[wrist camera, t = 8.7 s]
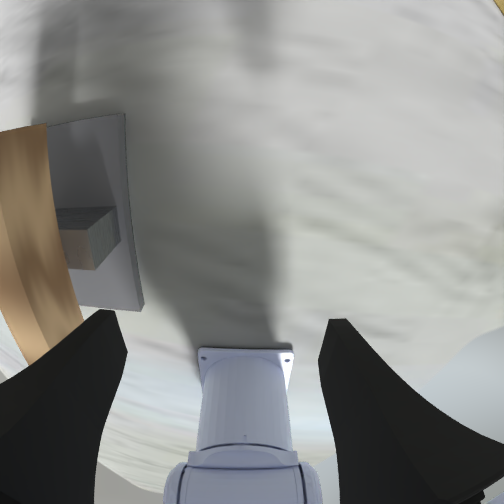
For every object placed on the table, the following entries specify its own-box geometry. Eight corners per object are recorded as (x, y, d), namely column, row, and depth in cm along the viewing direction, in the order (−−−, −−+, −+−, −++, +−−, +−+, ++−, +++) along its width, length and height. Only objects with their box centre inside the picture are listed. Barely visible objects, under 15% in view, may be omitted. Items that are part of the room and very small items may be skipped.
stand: (144, 304, 21) (123, 348, 17) (63, 295, 21) (35, 331, 17) (124, 113, 15) (84, 116, 11) (33, 131, 15) (-13, 142, 11)
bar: (92, 342, 17) (69, 385, 13) (59, 336, 17) (34, 375, 13) (46, 123, 11) (-7, 133, 7) (10, 133, 11) (-40, 146, 7)
